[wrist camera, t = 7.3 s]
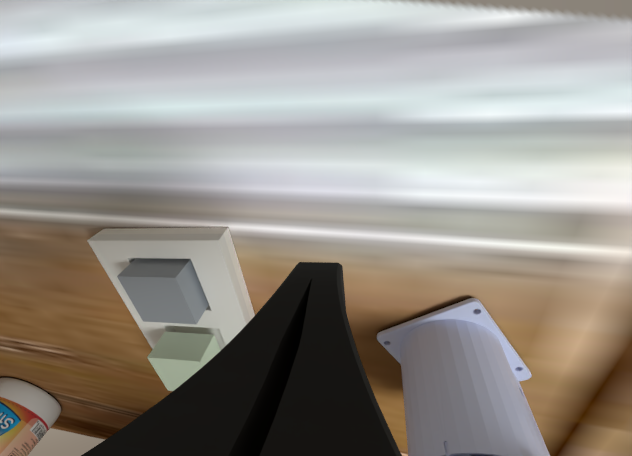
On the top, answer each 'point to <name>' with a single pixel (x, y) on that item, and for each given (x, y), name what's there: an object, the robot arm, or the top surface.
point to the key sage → (181, 356)
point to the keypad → (210, 265)
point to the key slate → (164, 290)
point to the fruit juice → (24, 416)
